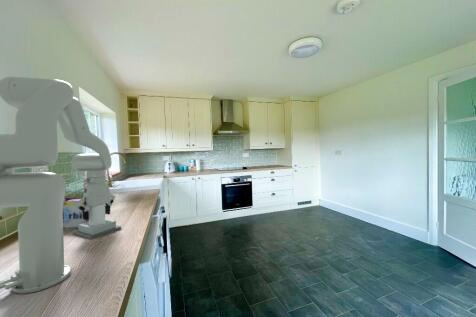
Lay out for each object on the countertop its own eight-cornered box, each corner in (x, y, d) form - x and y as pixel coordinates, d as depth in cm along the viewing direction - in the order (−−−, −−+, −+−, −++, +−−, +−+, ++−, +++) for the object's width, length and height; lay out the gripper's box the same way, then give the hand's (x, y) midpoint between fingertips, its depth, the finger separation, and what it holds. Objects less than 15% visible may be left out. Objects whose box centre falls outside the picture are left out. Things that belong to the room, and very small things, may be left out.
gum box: (100, 222, 113) (100, 197, 112) (90, 227, 105) (89, 200, 104) (56, 222, 113) (55, 197, 112) (42, 228, 105) (41, 201, 104)
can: (97, 232, 95) (96, 206, 95) (85, 231, 97) (84, 205, 96) (108, 227, 101) (108, 202, 101) (97, 226, 103) (97, 201, 103)
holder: (90, 239, 90) (90, 230, 90) (72, 234, 96) (72, 225, 96) (121, 228, 103) (121, 220, 102) (103, 224, 109) (103, 216, 109)
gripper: (80, 183, 89) (81, 223, 90) (119, 179, 105) (119, 213, 105) (70, 182, 92) (71, 221, 93) (109, 178, 108) (110, 211, 108)
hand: (97, 216), depth 99 cm, fingers open, 9 cm apart
